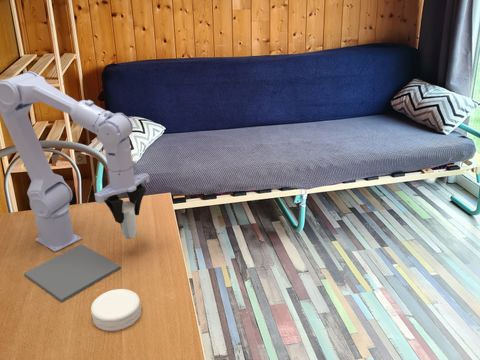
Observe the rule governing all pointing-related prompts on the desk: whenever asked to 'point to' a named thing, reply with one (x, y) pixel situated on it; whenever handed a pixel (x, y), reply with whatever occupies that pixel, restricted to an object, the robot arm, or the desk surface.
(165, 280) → the desk surface
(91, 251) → the mat
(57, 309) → the desk surface
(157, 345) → the desk surface
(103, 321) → the white round tin
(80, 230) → the desk surface
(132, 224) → the milkshake
